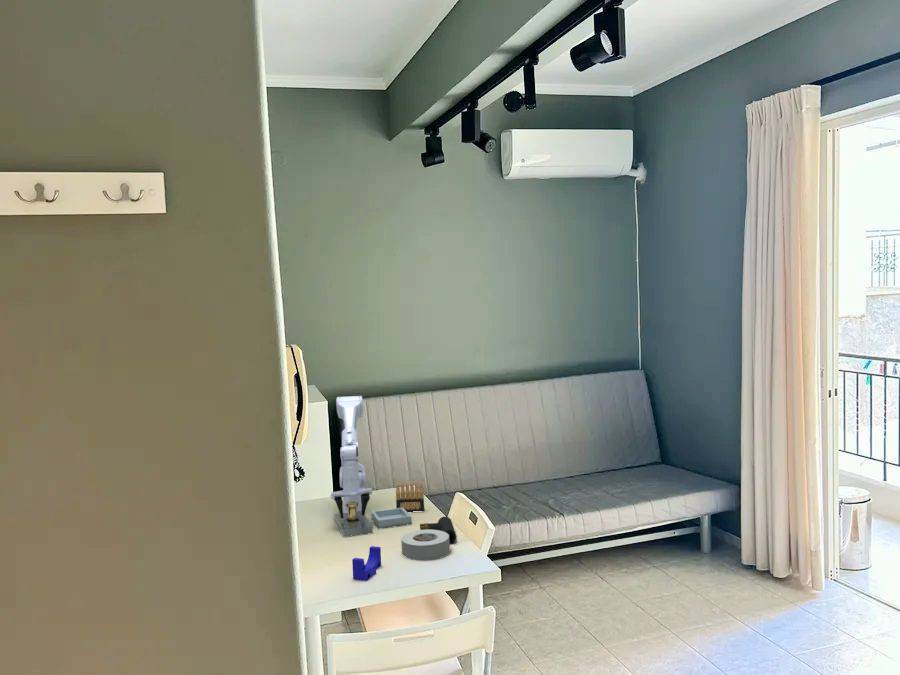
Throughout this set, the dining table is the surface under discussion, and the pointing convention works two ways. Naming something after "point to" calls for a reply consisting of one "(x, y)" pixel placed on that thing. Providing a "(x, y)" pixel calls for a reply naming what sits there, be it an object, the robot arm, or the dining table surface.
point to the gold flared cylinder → (352, 511)
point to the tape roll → (425, 544)
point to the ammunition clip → (410, 497)
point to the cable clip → (367, 564)
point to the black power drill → (442, 527)
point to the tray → (391, 517)
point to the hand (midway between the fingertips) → (352, 516)
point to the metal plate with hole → (353, 524)
